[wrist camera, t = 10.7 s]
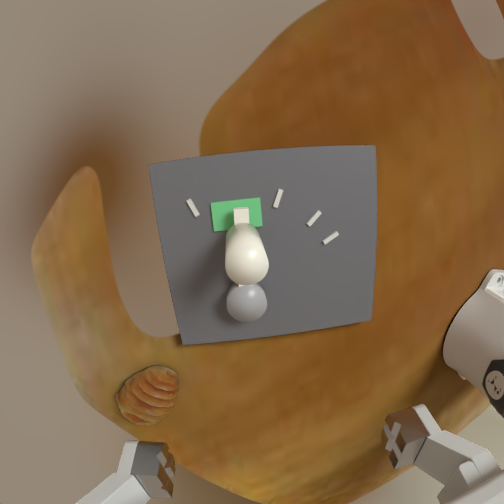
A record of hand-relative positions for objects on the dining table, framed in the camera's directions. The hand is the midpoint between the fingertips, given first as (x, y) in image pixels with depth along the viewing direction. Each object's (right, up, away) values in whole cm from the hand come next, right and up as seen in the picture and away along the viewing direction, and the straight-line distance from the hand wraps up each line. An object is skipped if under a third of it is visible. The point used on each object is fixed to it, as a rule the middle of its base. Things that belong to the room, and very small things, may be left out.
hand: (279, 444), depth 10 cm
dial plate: (+1, +7, +20) cm, 22 cm away
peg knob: (-2, +6, +19) cm, 19 cm away
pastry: (-14, -10, +25) cm, 31 cm away
